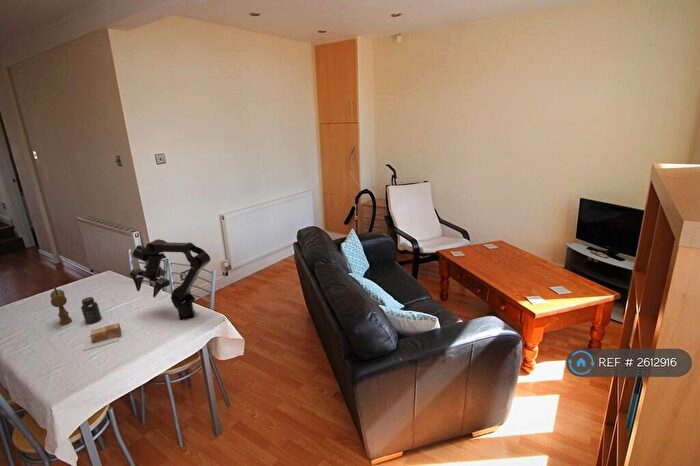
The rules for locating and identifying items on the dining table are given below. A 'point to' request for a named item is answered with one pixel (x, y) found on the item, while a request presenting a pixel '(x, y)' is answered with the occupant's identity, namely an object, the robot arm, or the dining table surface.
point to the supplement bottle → (90, 310)
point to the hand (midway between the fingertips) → (146, 294)
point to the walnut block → (105, 333)
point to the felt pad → (90, 344)
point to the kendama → (60, 305)
